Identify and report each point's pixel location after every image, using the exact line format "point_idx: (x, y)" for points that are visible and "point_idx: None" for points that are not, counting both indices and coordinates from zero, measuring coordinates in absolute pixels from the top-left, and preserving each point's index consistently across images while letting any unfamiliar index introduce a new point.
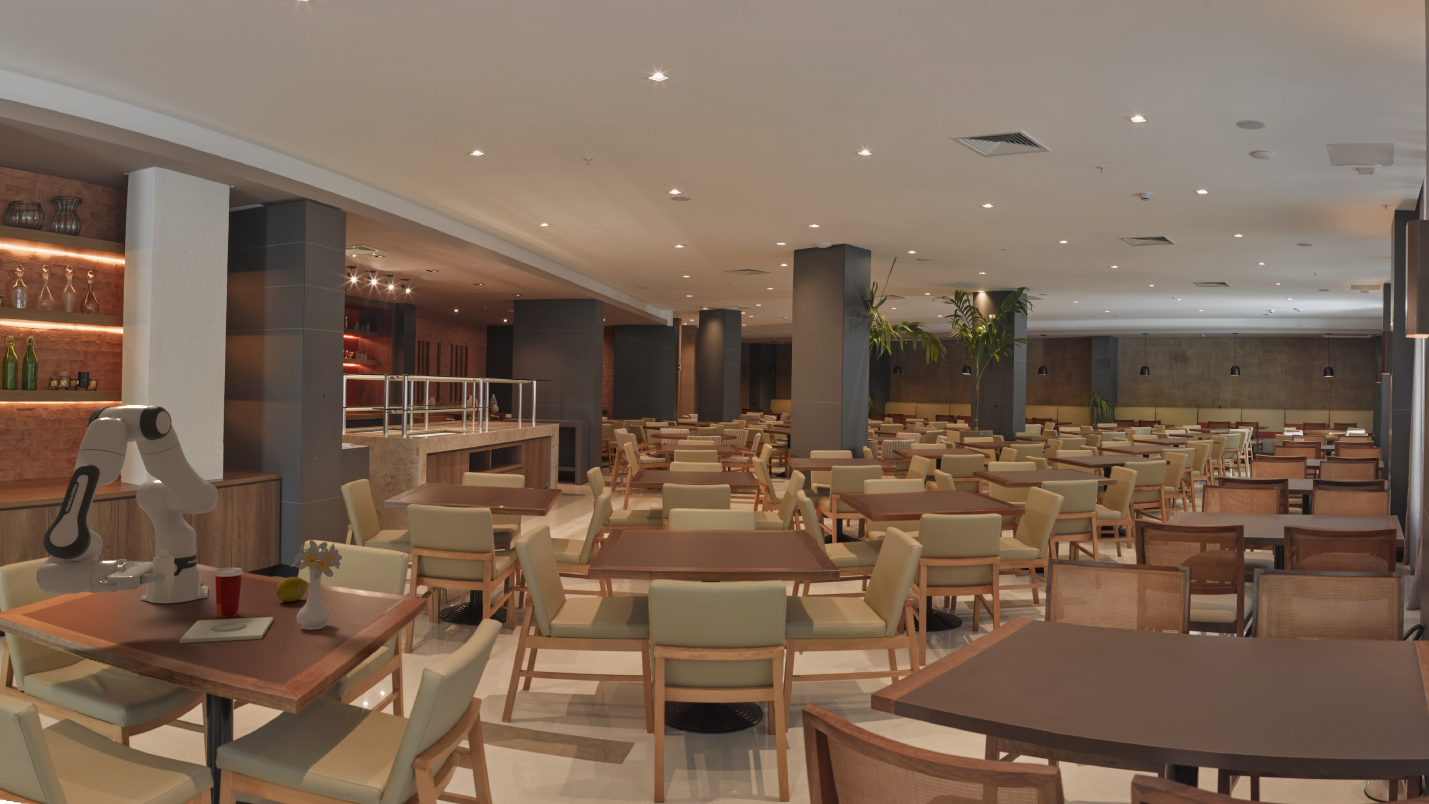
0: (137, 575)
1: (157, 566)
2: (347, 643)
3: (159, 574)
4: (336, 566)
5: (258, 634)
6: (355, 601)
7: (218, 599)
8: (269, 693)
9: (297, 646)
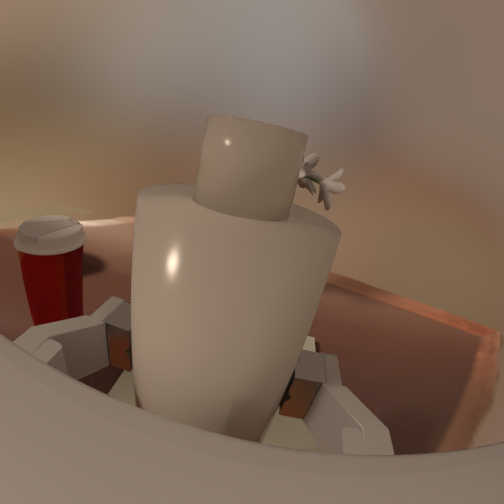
0: (501, 444)
1: (311, 319)
2: (348, 287)
3: (329, 366)
4: (300, 184)
5: (309, 340)
6: (124, 235)
7: (59, 320)
8: (500, 343)
9: (361, 318)
